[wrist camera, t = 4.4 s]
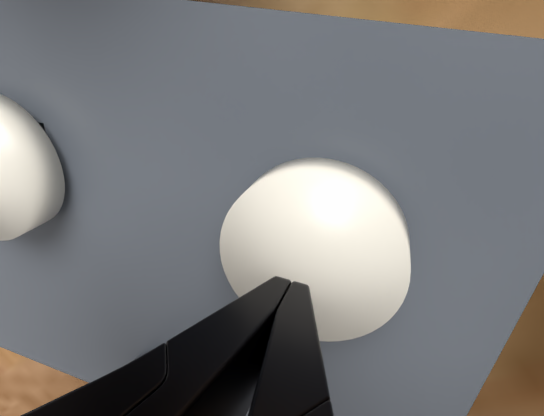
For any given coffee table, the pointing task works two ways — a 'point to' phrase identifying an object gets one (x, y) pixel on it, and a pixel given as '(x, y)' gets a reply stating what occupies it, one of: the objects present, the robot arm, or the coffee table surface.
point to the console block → (258, 160)
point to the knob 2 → (322, 243)
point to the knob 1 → (26, 172)
